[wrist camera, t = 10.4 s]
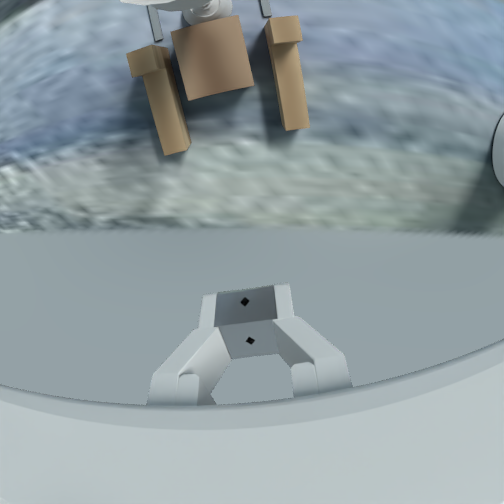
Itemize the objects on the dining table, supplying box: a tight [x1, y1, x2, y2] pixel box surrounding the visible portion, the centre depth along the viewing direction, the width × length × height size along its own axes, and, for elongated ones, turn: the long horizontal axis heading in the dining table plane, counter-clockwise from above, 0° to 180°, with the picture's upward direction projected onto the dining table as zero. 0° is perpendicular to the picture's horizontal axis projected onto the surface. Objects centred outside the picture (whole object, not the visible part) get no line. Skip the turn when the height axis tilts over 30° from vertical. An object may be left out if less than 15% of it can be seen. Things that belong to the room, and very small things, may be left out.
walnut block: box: [171, 15, 254, 101], centre depth 24 cm, size 6×7×5 cm
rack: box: [126, 16, 310, 156], centre depth 25 cm, size 15×11×6 cm
